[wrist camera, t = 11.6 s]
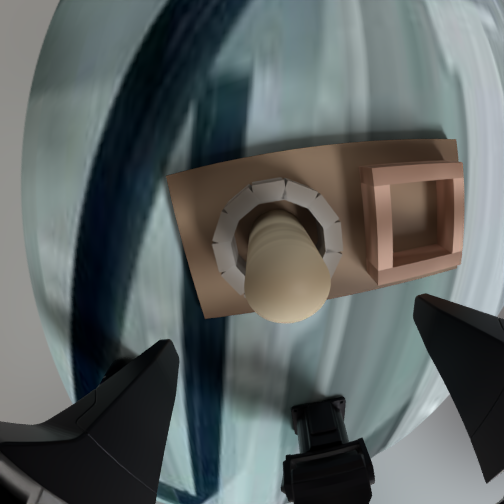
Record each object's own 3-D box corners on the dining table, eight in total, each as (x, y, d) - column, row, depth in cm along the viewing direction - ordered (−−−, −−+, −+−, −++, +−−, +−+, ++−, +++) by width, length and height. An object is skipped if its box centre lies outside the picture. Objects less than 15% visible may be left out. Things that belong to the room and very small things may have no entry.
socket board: (450, 263, 22) (471, 278, 18) (207, 311, 24) (199, 336, 20) (448, 139, 18) (474, 139, 14) (170, 174, 20) (153, 178, 16)
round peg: (307, 256, 20) (332, 315, 13) (255, 266, 21) (253, 328, 13) (299, 205, 19) (326, 238, 11) (244, 214, 19) (235, 254, 12)
